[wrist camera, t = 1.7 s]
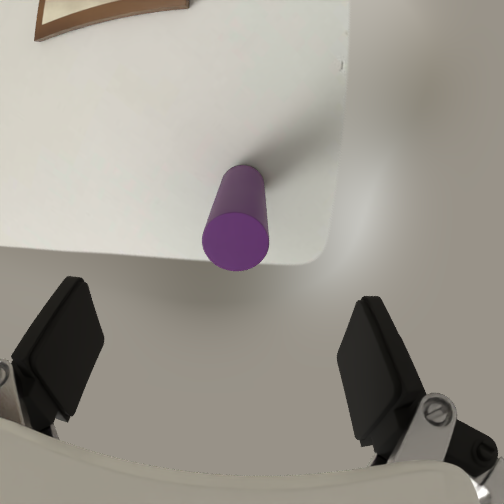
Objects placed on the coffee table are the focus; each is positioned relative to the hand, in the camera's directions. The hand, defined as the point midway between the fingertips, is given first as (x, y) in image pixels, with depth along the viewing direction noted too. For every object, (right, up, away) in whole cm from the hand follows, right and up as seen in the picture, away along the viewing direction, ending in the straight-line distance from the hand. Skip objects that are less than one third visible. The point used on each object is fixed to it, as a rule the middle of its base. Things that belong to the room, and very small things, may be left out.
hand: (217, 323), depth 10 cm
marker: (+1, +8, +13) cm, 15 cm away
